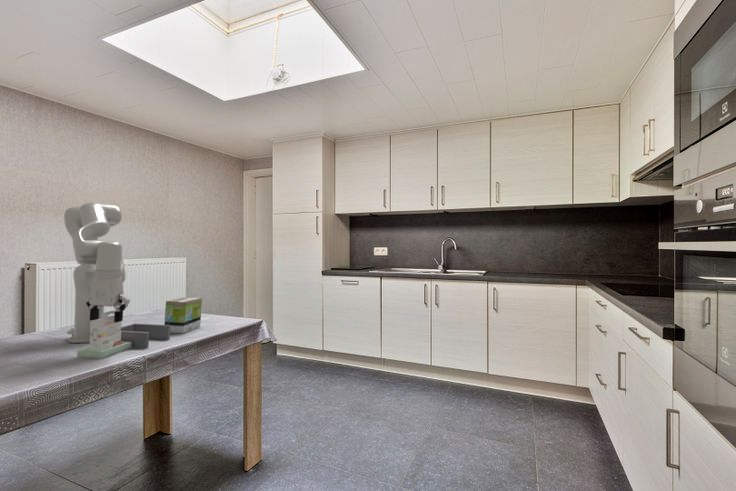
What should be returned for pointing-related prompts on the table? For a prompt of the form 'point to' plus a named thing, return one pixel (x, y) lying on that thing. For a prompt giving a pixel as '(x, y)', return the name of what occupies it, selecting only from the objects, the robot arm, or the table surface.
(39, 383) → the table surface
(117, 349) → the tray
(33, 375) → the table surface
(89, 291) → the robot arm
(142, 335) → the bay
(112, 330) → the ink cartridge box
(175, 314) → the tea box
